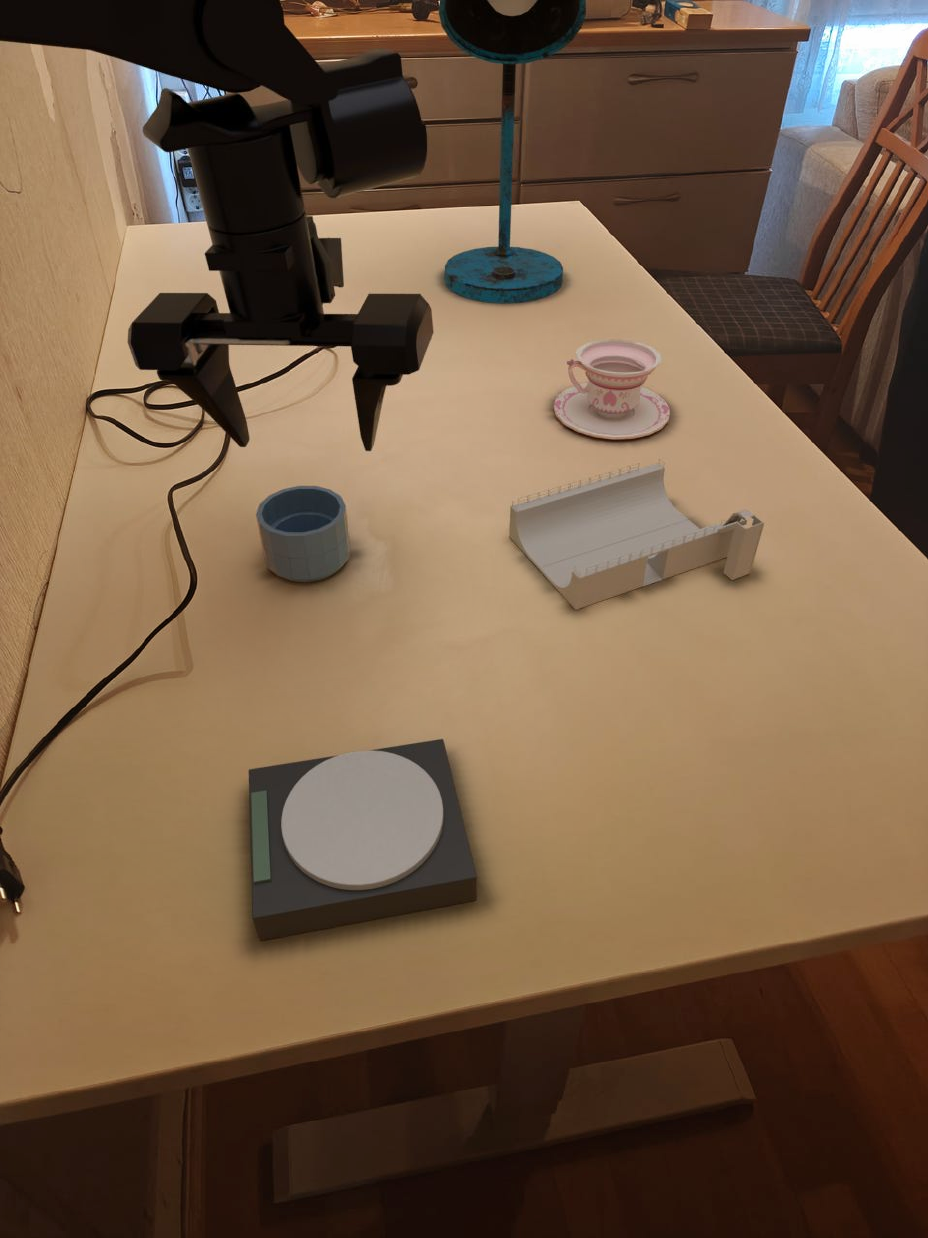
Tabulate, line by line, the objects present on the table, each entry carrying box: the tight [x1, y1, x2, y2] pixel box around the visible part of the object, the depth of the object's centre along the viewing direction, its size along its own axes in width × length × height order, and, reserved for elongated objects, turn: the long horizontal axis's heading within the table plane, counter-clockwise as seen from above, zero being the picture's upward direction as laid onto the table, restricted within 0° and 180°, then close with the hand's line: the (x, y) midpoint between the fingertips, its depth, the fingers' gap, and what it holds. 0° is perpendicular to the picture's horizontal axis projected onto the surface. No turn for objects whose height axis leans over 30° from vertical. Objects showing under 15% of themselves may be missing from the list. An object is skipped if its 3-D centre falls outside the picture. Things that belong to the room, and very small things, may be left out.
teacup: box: [553, 339, 671, 440], centre depth 88 cm, size 12×12×6 cm
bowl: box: [255, 485, 351, 583], centre depth 70 cm, size 7×7×5 cm
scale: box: [248, 738, 478, 941], centre depth 50 cm, size 12×10×3 cm
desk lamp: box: [438, 0, 587, 304], centre depth 101 cm, size 16×22×45 cm
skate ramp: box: [508, 458, 765, 611], centre depth 71 cm, size 15×13×5 cm
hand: (306, 445), depth 61 cm, fingers open, 9 cm apart
